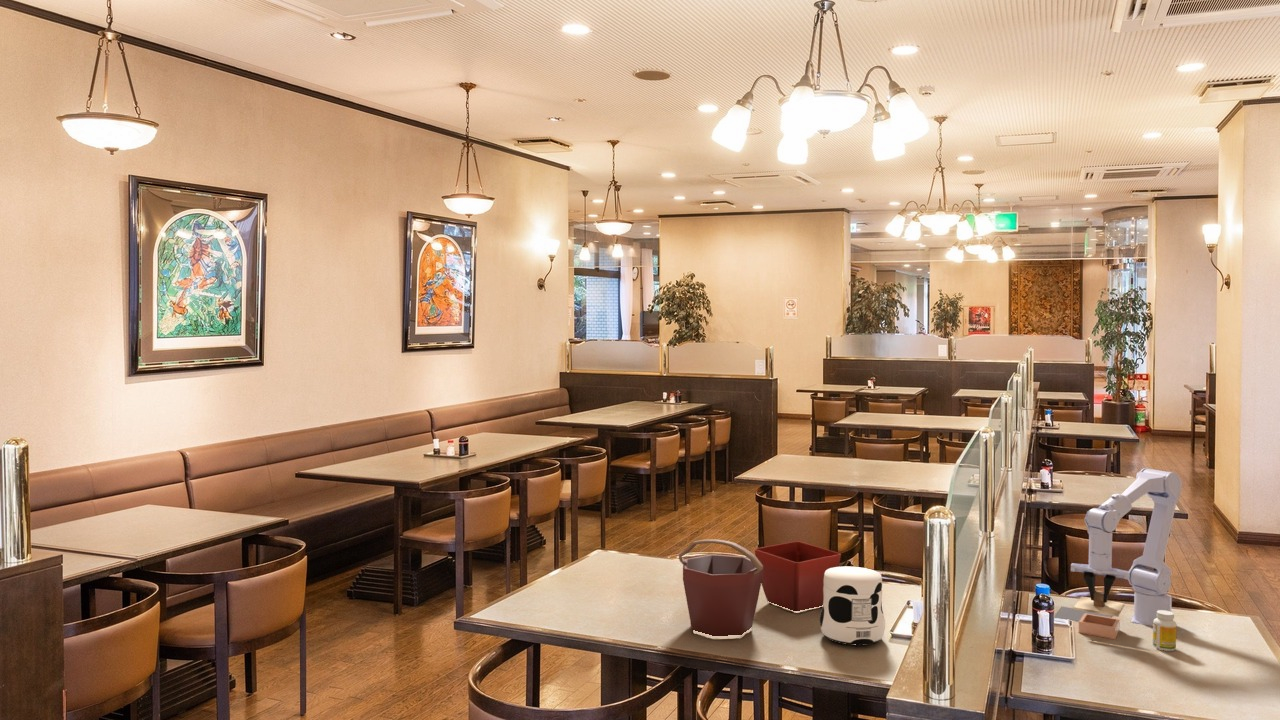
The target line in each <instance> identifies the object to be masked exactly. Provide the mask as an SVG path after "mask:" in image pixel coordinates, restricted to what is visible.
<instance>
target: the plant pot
mask: <svg viewBox="0 0 1280 720" xmlns="http://www.w3.org/2000/svg"><path fill="white" fill-rule="evenodd" d="M754 555H755V556H756V557H757V558H758V560H759V561H760V562H761V564H762V565H763V577H762V582H761V587H762V590H763V593H764V596H765V599H766V600H767V602H768V601H769V602H771V603H774V604H777V605H779V606H782V607H785V608H788V609H790V610H793V611H800V610H805V609H809V608H814V607H819V606H822V605H823V601H824V593H823V587H824V574H825V571H826V570H827V569H830V568H834V567H840V562H841V557H842V553H841V552H840V553H839V552H837V551H833V550H831V549H826V548H823V547H820V546H817V545H814V544H810V543H807V542H804V541H798V540H797V541H795V540H794V541H791V542H786V543H785V542H784V543H780V544H779V543H778V544H774V545H767V546H762V547H756V548H754Z"/></svg>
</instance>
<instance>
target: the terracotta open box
mask: <svg viewBox="0 0 1280 720" xmlns="http://www.w3.org/2000/svg"><path fill="white" fill-rule="evenodd" d="M1120 629H1121V619H1120V618H1117V617H1112V618H1110V617H1104V616H1098V615H1092V614H1087V613H1084V615H1083V616H1082V618H1081V619H1080V621H1078V633H1079V634H1081V635H1082V634H1083V635H1087V636H1088V635H1090V636H1093V637H1098V638H1099V637H1101V638H1106V639H1110V640H1111V639H1112V640H1116V638H1117V637H1118V634H1119V633H1120V631H1121V630H1120Z"/></svg>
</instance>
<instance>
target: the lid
mask: <svg viewBox="0 0 1280 720" xmlns="http://www.w3.org/2000/svg"><path fill="white" fill-rule="evenodd" d="M1103 598H1104V591H1098V590H1095V592H1094V601H1093V600H1091V597H1089V596H1088V597H1087V596H1082V595H1081V596H1080V597H1079V599H1078V601H1077V602H1076V603H1075V604H1074V606H1073V608H1074V609H1075V610H1081V611H1087V612H1093V613H1099V614H1104V615H1110V616H1112V617H1115V618H1118V617H1119V616H1120V614H1121V612H1122V611H1123V609H1124V606H1125V602H1119V601H1118V602H1117V601H1112V600H1107V602H1106V603H1105V602H1103Z"/></svg>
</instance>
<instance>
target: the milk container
mask: <svg viewBox="0 0 1280 720" xmlns="http://www.w3.org/2000/svg"><path fill="white" fill-rule="evenodd" d="M882 578H883V577H882V574H881V573H880V572H879V571H876V570H873V569H869V568H866V567H859V566H848V565H847V566H846V565H845V566H839V567H834V568H830V569H827V570H826V571H825V574H824V587H823V593H824V601H823V607H822V608H821V611H820V614H819V625H820V631H821V632H822V635H824V637H825V638H826V639H828V638H829V639H828V640H830V639H831V641H832V640H833V642H835V641H836V643H838V642H840V643H839V644H841V643H846V644H845V645H847V644H856V645H855V646H864V645H863V644H869V645H872V643H873V644H876V643H878V642H879V641H881V640H882V638H884V635H885V630H886V619H885V614H884V611H883V605H882V604H883V579H882ZM875 642H876V643H875Z"/></svg>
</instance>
